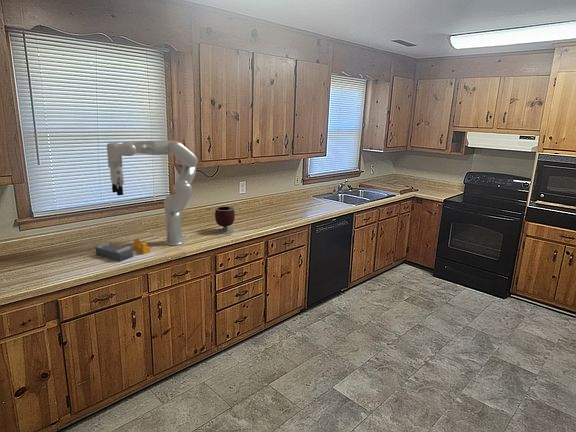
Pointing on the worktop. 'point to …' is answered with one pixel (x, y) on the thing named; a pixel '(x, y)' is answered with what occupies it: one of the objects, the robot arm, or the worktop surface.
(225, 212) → the mate gourd
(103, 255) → the mounting block
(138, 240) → the orange stepped block
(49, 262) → the worktop surface
